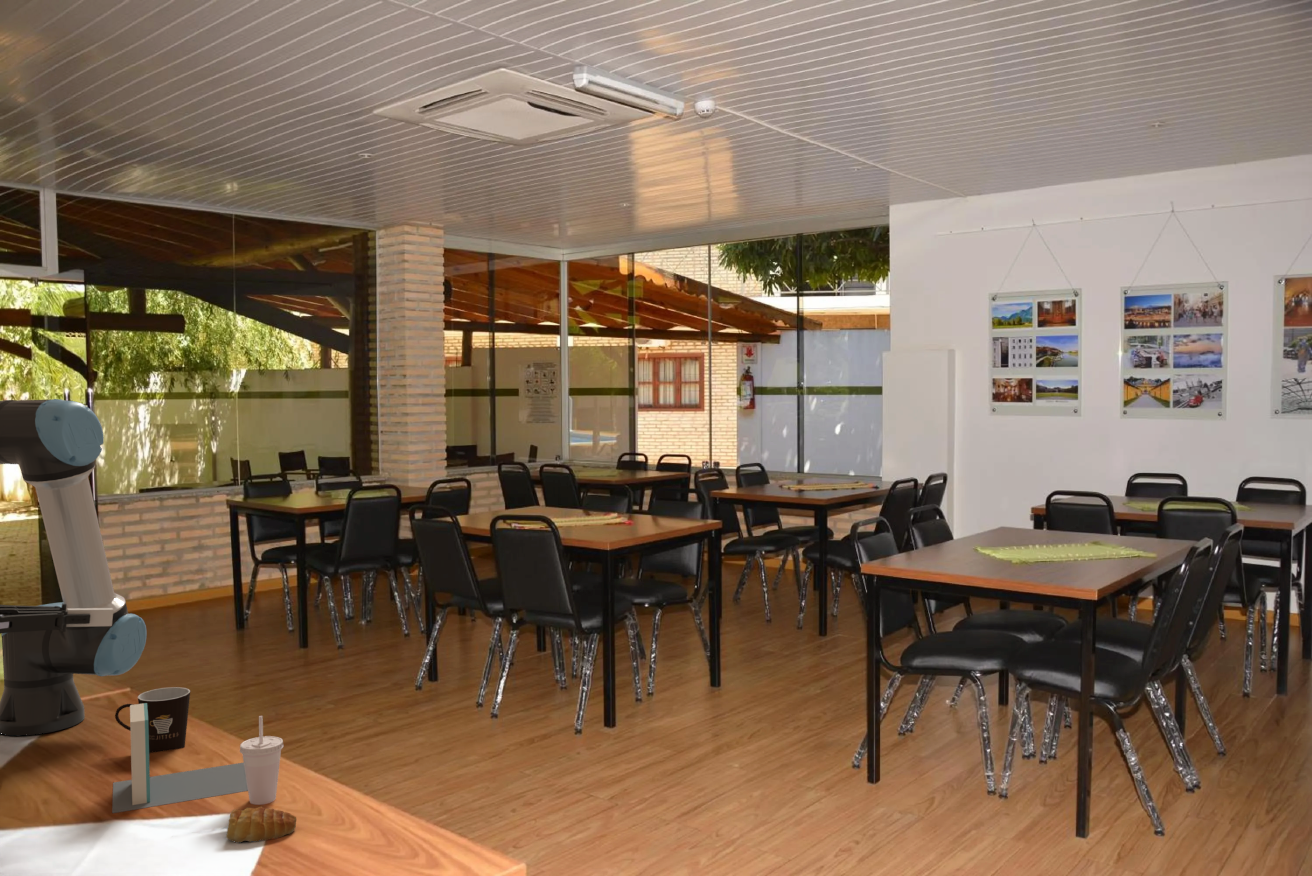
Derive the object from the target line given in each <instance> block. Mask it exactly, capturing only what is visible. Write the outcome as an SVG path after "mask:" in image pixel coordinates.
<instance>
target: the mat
mask: <svg viewBox="0 0 1312 876" xmlns="http://www.w3.org/2000/svg"><path fill="white" fill-rule="evenodd" d="M243 792H244V793H245V792H248V787H247V781H246V774H245V768H244V762H238V763H231V764H226V765H225V764H224V765H218V766H213V767H211V766H210V767H205V768H199V769H194V770H193V769H192V770H186V771H181V772H173V773H166V774H161V775H154V776H150V802H149V803H142V804H136V805H132V779H127V780H121V781H116V782H115V781H114V782H113V783H112V807H111V808H112V809H111V812H112V814H117V813H118V814H119V813H123V812H128V811H135V810H140V809H141V810H142V809H145V808H153V807H158V806H165V805H170V804H176V803H183V802H189V801H196V800H202V799H207V798H214V797H219V796H225V795H230V794H231V795H232V794H238V793H243Z"/></svg>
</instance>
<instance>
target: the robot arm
mask: <svg viewBox="0 0 1312 876" xmlns="http://www.w3.org/2000/svg"><path fill="white" fill-rule="evenodd" d="M102 426H103V425H102V423H101V422H100V420H99V418H98V416H97V415H96V413H95V412H94V411H93V410H92V409H91V408H89V407H88V406H86V405H85V404H84V403H81V402H78V401H75V400H74V401H73V400H65V399H57V398H53V399H52V398H51V399H27V400H26V399H25V400H24V399H22V400H21V399H20V400H19V399H17V400H16V399H4V400H0V465H19V467H20V473H21V477H22V480H23V481H24V482H25V483H26V484H29V485H30V486H33V487H34V488H35V492H36V496H37V499H38V500H37V501H38V503H39V508H40V512H41V516H42V520H43V525H44V528H45V532H46V536H47V540H48V544H49V550H50V553H51V557H52V560H53V561H52V562H53V565H54V569H55V574H56V578H57V583H58V586H59V589H60V594H61V598H62V602H52V603H47V604H40V605H15V604H14V605H9V604H0V634H1V636H0V637H1V646H2V647H1V648H2V649H1V650H2V665H3V667H2V668H3V692H2V695H1V698H0V733H2V734H6V735H5V736H8V735H26V736H33V735H35V734H36V735H43V734H47V733H52V732H58V731H61V730H65V729H68V728H71V727H74V726H76V725H78V724H80V723H81V722H83V721H84V720H85V717H86V716H85V705H84V702H83V701H82V698H81V696H80V693H79V690H78V687H77V686H76V684H75V681H74V674H75V675H91V676H93V675H95V676H97V677H98V676H99V677H107V676H119V675H123V674H125V673H127V672H128V671H130V670H131V669H133V667H134V666H135V665H136V664H137V663H138V661H139V660H140V658H141V656H142V654H143V651H144V650H145V646H146V643H147V626H146V623H145V620H144V619H143V618H142V617H140V616H139V615H137V614H135V613H132V612H131V613H129V611H128V607H127V602H126V598H125V597H124V596H123V595H120V594H118V593H116V592H115V590H114V585H113V581H112V577H111V572H110V568H109V562H108V559H107V558H108V557H107V554H106V549H105V546H104V542H103V537H102V533H101V528H100V525H99V523H100V522H99V519H98V515H97V510H96V507H95V502H94V498H93V493H92V487H91V484H90V480H89V476H90V475H91V473H92V472H93V471H94V470H95V467H96V464H95V461H96V460H97V459H98V458H99V456H100V455H101V452H102V451H103V450H102V449H103V448H102V447H101V446H103V445H104V431H103V427H102ZM42 733H43V734H42Z"/></svg>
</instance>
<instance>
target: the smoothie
mask: <svg viewBox="0 0 1312 876" xmlns="http://www.w3.org/2000/svg"><path fill="white" fill-rule="evenodd" d="M263 718H264V716H263V715H259V716H258V737H257V736H256V737H253V738H249V739H246V740H244V741H243V742H241V743H240V744H239V752H240V754H241V755H242V759H243V760H242V762H243V763H244V768H245V774H246V781H247V787H248V791H247V792H248V800H249V803H250V804H251V805H256V806H257V805H266V804H271V803H273V802H275V800H276V798H277V791H278V781H279V773H280V771H279V770H280V762H281V754H282V753H281V751H282V749H283V748H284V741H283V738H281V737H278V736H273V735H272V736H271V735H265V736H264V722H263V721H264V720H263Z"/></svg>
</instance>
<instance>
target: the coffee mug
mask: <svg viewBox="0 0 1312 876" xmlns="http://www.w3.org/2000/svg"><path fill="white" fill-rule="evenodd" d="M190 698H191V690H190V689H189V688H186V687H179V686H177V687H176V686H175V687H174V686H173V687H161V688H155V689H151V690H148V691H144V692H142V693H140V694H139V695H138V696H137V702H138V703H137V704H143V703H147V709H148V729H149V754H154V753H159V752H167V751H172V750H173V751H174V750H180V749H184V748H185V747H186V737H187V729H188V728H187V727H188V718H189V708H190V707H189V706H190ZM130 705H135V704H133V703H125V704H123V705H120V706H119V707H118V708H117V709H116V710H115V715H114V717H115V721H116V722H117V723H118V724H119V726H121V727H122V728H124V729H126V730H128V731H130V725H126V723H124V722H123V721H122V720H121V719H120V717H119V713H120V712H121V711H122V710H124V709H126V708H130Z"/></svg>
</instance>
